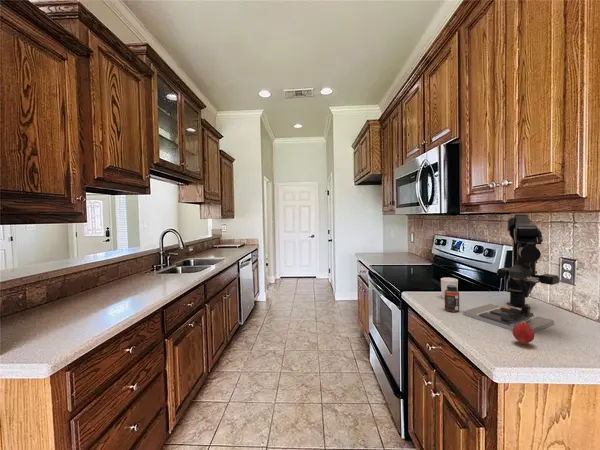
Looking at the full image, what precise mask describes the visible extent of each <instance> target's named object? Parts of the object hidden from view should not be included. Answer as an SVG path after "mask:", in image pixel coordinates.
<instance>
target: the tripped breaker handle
mask: <svg viewBox="0 0 600 450" xmlns="http://www.w3.org/2000/svg"><path fill="white" fill-rule="evenodd" d="M501 307H502V312H506V313H509V314H511V308H512V307H511V306H510V307H509V306H506V305H504V306H501Z"/></svg>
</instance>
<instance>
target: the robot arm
mask: <svg viewBox="0 0 600 450" xmlns="http://www.w3.org/2000/svg"><path fill="white" fill-rule="evenodd" d="M506 229H507V232H508V235H509V236H510V238H511V239H512V266H510V267H501V268H498V269H497V270H496V276H499V277H502V278H503V277H507V276H508V279H506V284H505V285H506V286H505V288H506V292H507V293H509V301H508V302H506V305H509V306H512V307H513V306H514V307H516V308H520V309H521V306H523V305H524V306H528V307H530V304H528V303H526V298H529V296H530V294H531V293H532V291H533V289H534V288H535V286H536V285H537V284H538V283H541V284H543V285H544V284H545V285H549V286H550V285H551V286H553V285H556V284H559V283H560V277H559V276H558V275H557V274H551V273H543V274H538V270H537V267H536V266H537V265H536V264H538V260H539V259H540V258H541V255H542V254H541V250H539V248H537V245H542V243H543V240H544V239H543V235H542V234H543V233H542V231H541V229H540V228H539V227H538V226H537V225H536V224H532V220H531V219H530V218H529V215H528V214H526V213H525V214H524V213H521V214H519V213H518V214H517V213H516V214H513V216H512V217H511V218H509V219H508V220H507V223H506Z"/></svg>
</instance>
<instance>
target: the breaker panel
mask: <svg viewBox="0 0 600 450" xmlns="http://www.w3.org/2000/svg"><path fill="white" fill-rule="evenodd" d="M462 315H463V316H466V317H468V318H471V319H475V320H478V321H482V322H484V323H488V324H491V325H494V326H498V327H500V328H504V329H507V330H509V331H512V332H513V328H514V327H515V326H516V325H517V324H519V323H522V322H523V321H524V322H525V323H526V325H528V326H529V327H530V328H531V329H532V330H533V332H534V333H536V332H538V331H540V330H543V329H545V328H548V327H550V326H553V325H555V320H553V319H550V318H547V317H544V316H538V315H535V314H534V313H533V312H531V306H524V305H523V306H521V308H520V309H517V308H514V307H511V314H509V313H506V312H502V306H500V305H497V304H493V303H488V304H483V305H481V306H477V307H474V308H471V309H466V310H463V312H462Z"/></svg>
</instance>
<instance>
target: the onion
mask: <svg viewBox="0 0 600 450" xmlns="http://www.w3.org/2000/svg"><path fill="white" fill-rule="evenodd" d="M512 335H513V337H514V339H516V341H517V342H519V343H520V344H521V345H523V346H525V345H528V344H530V343H531V342H533V341H534V339H535V332H533V330H532V329H531V328H530V327H529V326H528V325H526V323H525V322H524V321H523V322H522V323H519V324H517V325H516V326H515V327H514V328H513V331H512Z"/></svg>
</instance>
